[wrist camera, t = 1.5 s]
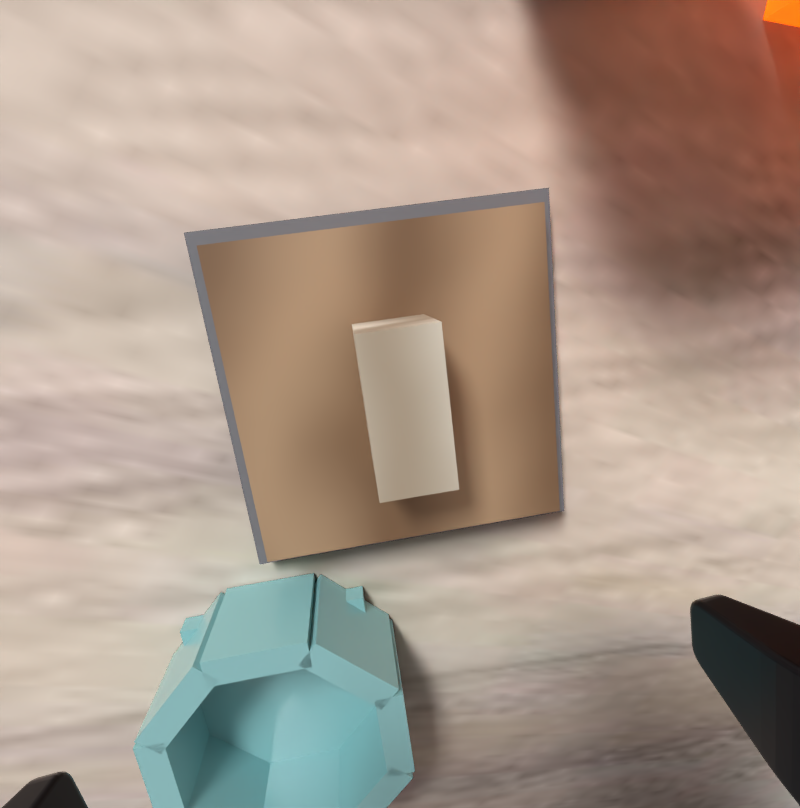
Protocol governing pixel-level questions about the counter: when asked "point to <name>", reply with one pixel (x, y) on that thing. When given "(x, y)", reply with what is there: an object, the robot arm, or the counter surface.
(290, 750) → the bowl
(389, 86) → the counter surface
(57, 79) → the counter surface
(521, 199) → the mat
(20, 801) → the robot arm
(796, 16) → the orange juice
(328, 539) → the lid
